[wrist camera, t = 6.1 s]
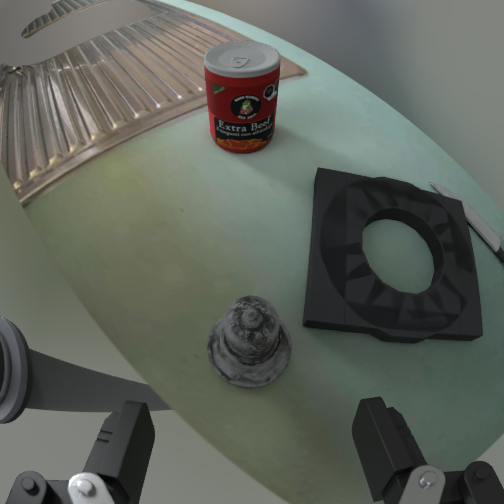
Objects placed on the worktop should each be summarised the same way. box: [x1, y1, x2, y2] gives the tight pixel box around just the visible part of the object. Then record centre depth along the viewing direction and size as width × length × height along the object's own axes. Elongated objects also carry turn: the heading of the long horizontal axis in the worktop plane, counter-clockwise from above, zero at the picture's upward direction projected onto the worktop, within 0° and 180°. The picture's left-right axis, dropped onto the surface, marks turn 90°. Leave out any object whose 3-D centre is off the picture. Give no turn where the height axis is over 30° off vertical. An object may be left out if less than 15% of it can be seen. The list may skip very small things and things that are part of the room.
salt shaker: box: [207, 296, 292, 388], centre depth 19 cm, size 6×6×12 cm
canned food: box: [204, 41, 280, 153], centre depth 31 cm, size 8×8×11 cm
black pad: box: [303, 167, 483, 343], centre depth 28 cm, size 18×17×2 cm
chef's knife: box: [429, 182, 504, 262], centre depth 30 cm, size 19×1×3 cm
